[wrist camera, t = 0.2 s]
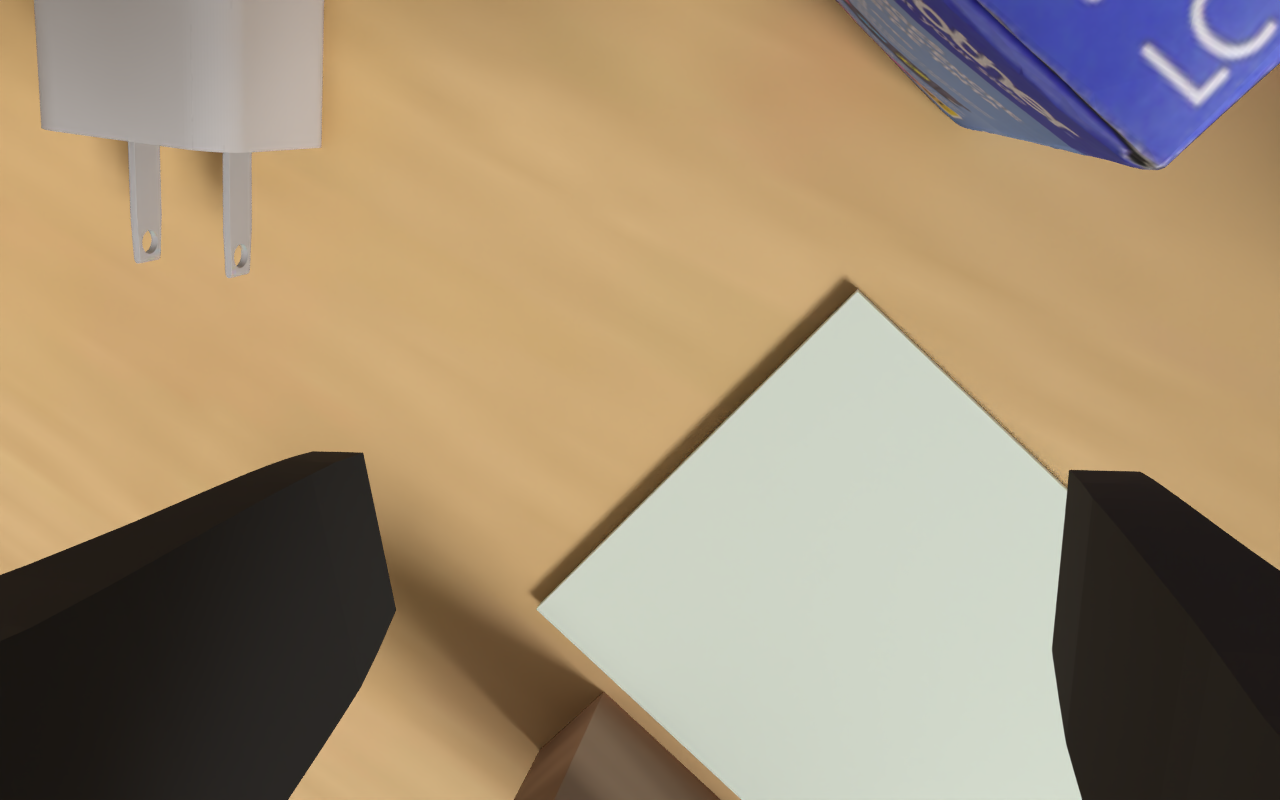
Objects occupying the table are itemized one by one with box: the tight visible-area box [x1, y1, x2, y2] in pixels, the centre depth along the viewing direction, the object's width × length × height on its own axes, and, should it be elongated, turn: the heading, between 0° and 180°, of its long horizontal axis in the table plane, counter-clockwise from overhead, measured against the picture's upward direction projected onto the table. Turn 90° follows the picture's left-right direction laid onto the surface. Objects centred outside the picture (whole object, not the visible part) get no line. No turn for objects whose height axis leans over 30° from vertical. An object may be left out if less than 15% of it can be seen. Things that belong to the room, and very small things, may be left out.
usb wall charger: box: [34, 0, 324, 278], centre depth 20 cm, size 4×7×4 cm, turn 174°
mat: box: [536, 289, 1082, 800], centre depth 22 cm, size 10×12×1 cm
